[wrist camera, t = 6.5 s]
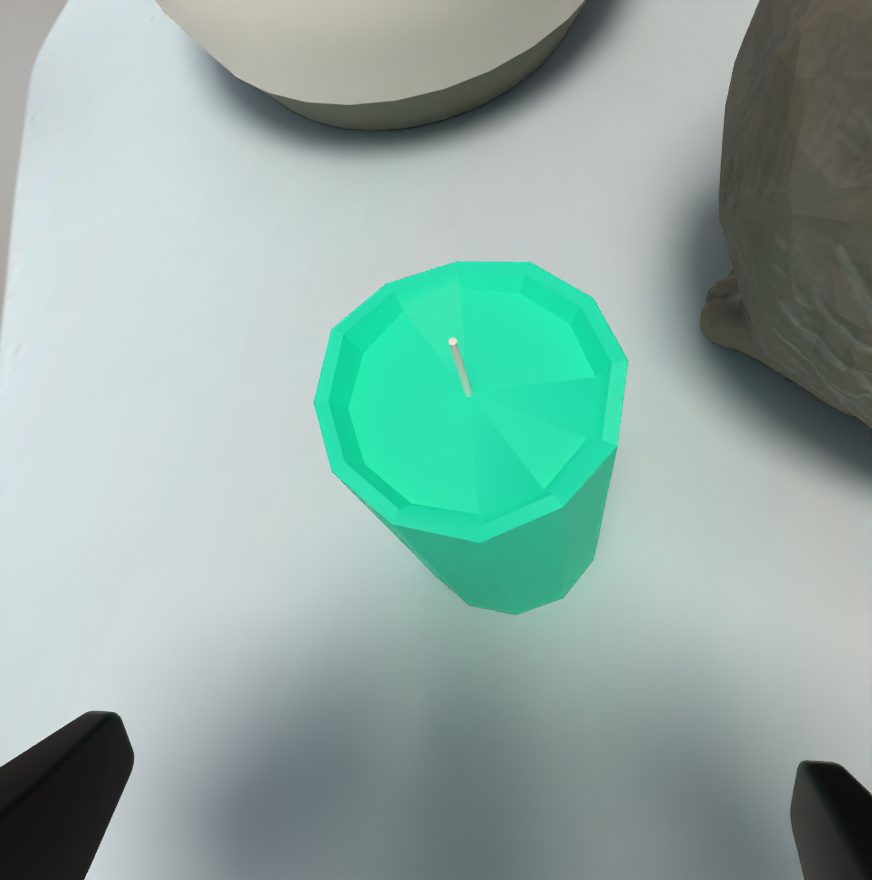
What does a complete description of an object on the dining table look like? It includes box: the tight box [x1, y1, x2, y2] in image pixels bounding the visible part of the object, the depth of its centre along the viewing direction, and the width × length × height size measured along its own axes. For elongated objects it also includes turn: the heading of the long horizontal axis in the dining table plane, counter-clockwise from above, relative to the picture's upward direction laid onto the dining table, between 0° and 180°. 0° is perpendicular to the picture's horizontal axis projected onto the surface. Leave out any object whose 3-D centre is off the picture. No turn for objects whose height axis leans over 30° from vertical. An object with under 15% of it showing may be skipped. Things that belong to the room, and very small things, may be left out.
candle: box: [314, 262, 628, 614], centre depth 16 cm, size 6×6×12 cm
